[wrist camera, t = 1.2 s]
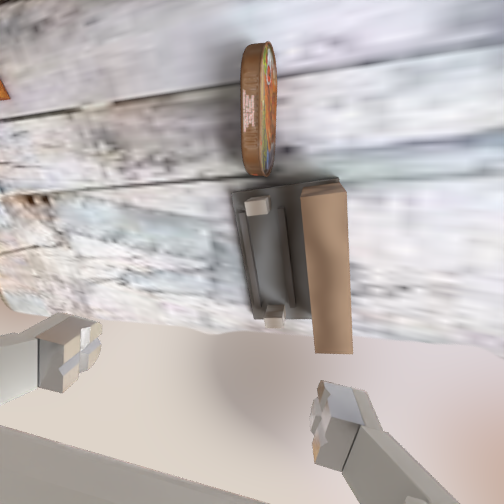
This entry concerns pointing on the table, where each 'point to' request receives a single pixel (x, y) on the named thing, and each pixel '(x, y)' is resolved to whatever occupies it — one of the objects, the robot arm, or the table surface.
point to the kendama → (3, 92)
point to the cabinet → (299, 258)
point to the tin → (258, 108)
